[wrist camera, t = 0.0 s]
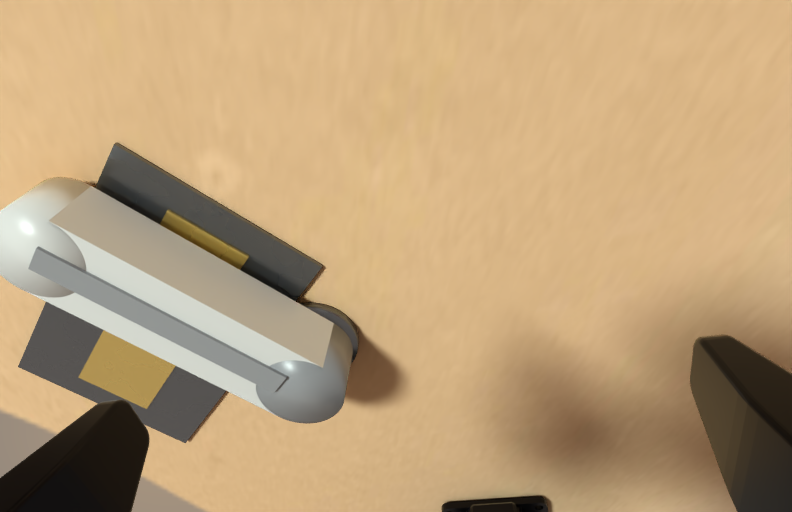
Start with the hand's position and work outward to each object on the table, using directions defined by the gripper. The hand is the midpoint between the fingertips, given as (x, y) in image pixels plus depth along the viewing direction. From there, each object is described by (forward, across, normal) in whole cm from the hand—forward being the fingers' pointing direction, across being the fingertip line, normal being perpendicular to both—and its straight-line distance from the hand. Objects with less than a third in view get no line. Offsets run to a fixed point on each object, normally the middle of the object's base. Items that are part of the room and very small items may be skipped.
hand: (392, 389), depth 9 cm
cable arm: (+14, +11, +6) cm, 19 cm away
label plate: (+15, +14, +10) cm, 22 cm away
